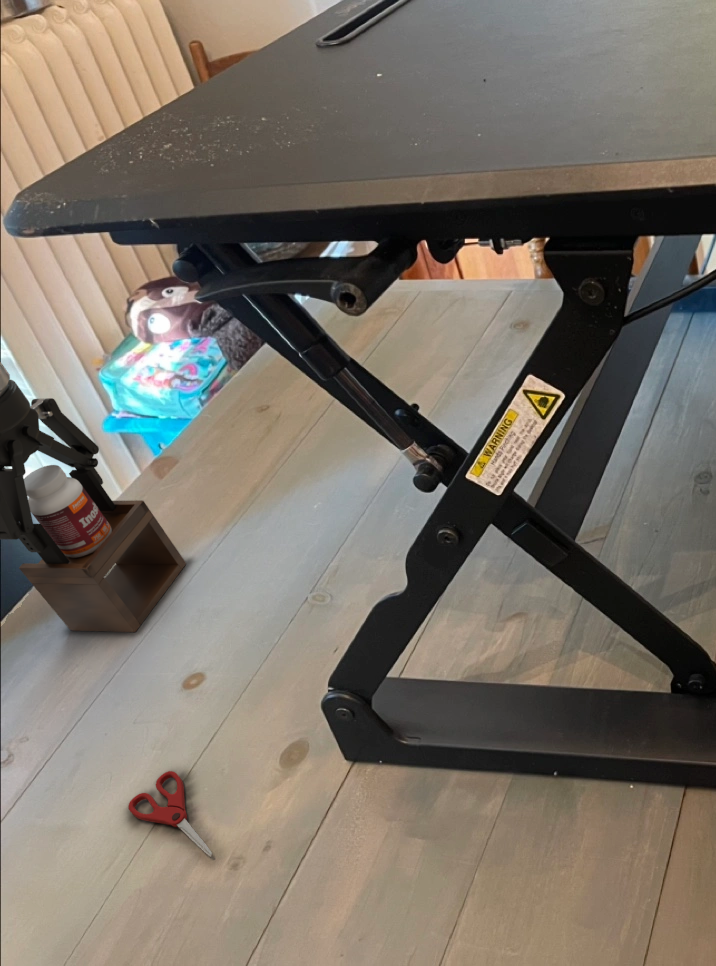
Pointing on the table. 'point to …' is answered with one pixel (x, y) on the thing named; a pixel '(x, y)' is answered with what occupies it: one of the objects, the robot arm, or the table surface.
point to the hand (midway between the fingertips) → (83, 535)
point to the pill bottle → (66, 511)
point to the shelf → (112, 574)
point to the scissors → (169, 809)
